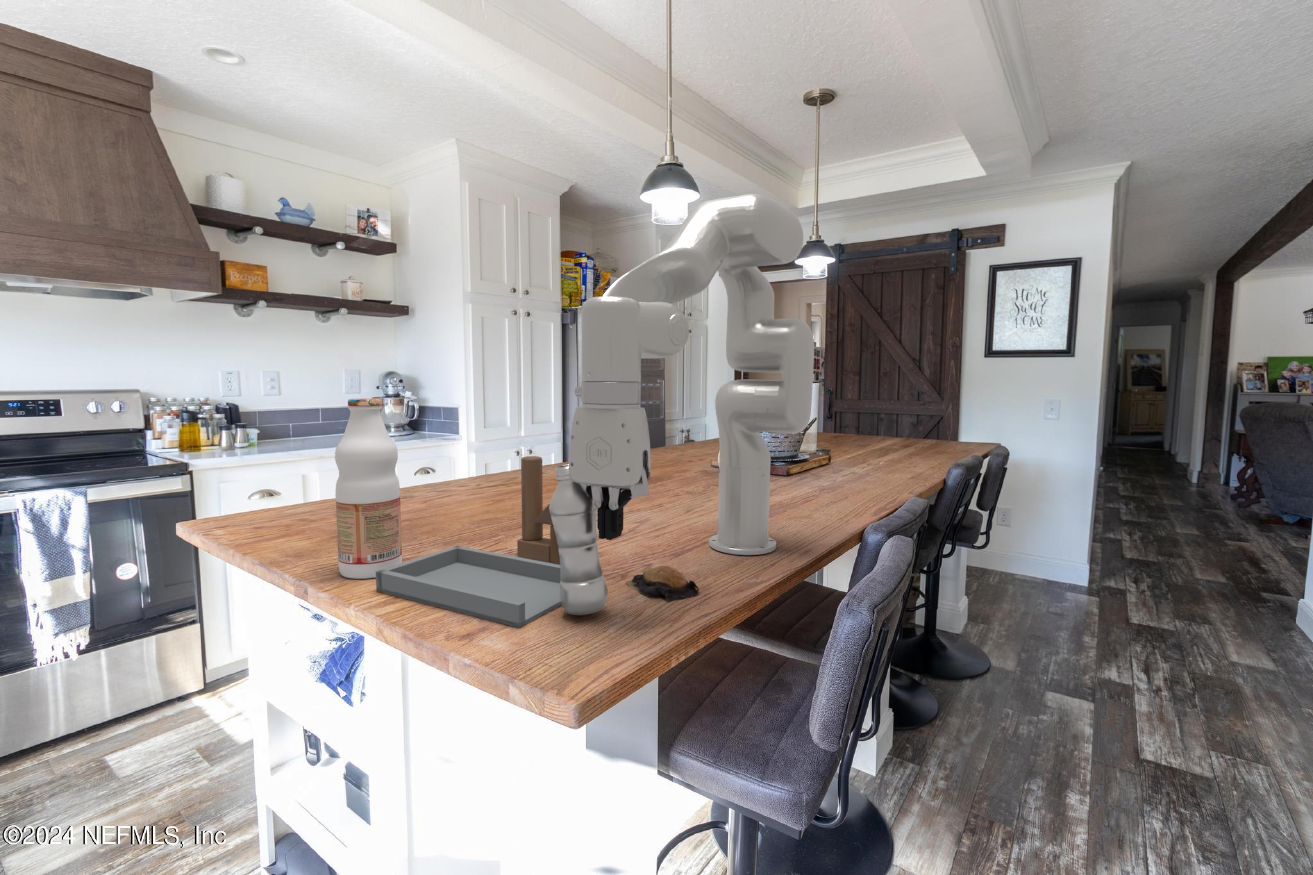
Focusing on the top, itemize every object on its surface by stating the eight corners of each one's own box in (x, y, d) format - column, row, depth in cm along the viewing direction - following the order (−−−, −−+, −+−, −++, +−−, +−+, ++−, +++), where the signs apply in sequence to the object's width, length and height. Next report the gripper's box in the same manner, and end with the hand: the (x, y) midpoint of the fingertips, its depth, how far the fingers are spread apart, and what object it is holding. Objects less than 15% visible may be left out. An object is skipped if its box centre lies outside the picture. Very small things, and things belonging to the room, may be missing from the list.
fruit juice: (326, 579, 95) (318, 399, 93) (356, 561, 105) (350, 397, 102) (386, 580, 95) (380, 400, 92) (411, 562, 105) (406, 398, 102)
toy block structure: (566, 570, 102) (566, 462, 100) (516, 560, 107) (515, 457, 105) (579, 564, 105) (579, 459, 103) (530, 554, 110) (529, 455, 108)
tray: (457, 562, 105) (457, 545, 104) (589, 589, 92) (589, 570, 92) (376, 591, 91) (375, 571, 90) (519, 628, 78) (518, 605, 78)
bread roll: (621, 587, 95) (621, 564, 95) (665, 577, 100) (665, 555, 100) (661, 609, 87) (661, 583, 86) (707, 596, 91) (707, 572, 91)
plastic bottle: (569, 625, 78) (550, 469, 77) (556, 611, 84) (539, 467, 84) (616, 613, 81) (599, 463, 80) (600, 601, 87) (584, 461, 86)
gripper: (545, 395, 78) (546, 536, 80) (649, 398, 71) (647, 552, 73) (579, 394, 85) (579, 524, 87) (676, 397, 78) (674, 538, 80)
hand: (610, 536), depth 80 cm, fingers closed
